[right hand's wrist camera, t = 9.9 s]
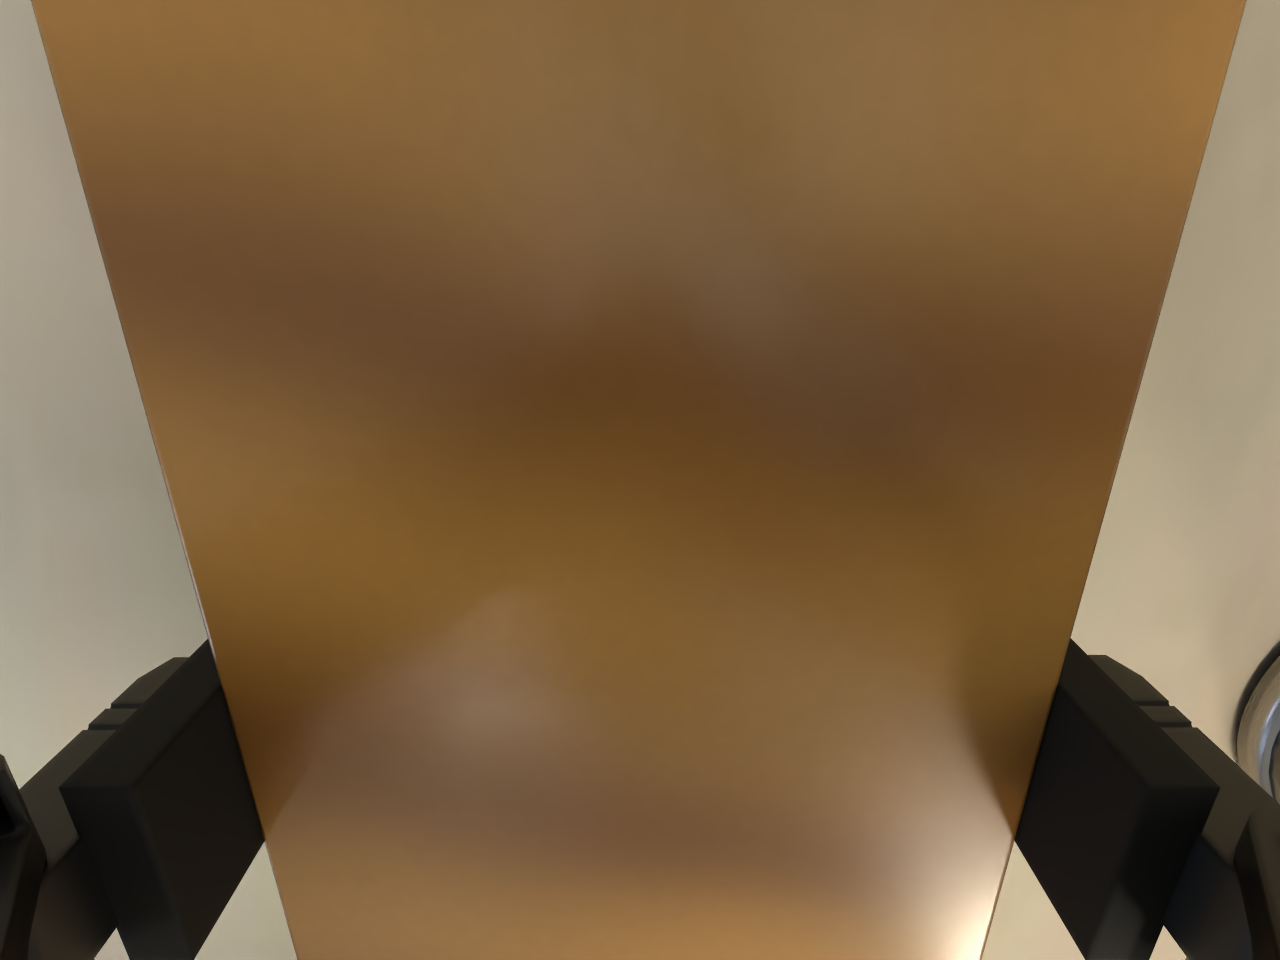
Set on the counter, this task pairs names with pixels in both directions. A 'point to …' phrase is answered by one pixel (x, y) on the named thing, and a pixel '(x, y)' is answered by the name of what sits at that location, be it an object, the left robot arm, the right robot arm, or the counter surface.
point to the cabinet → (639, 435)
